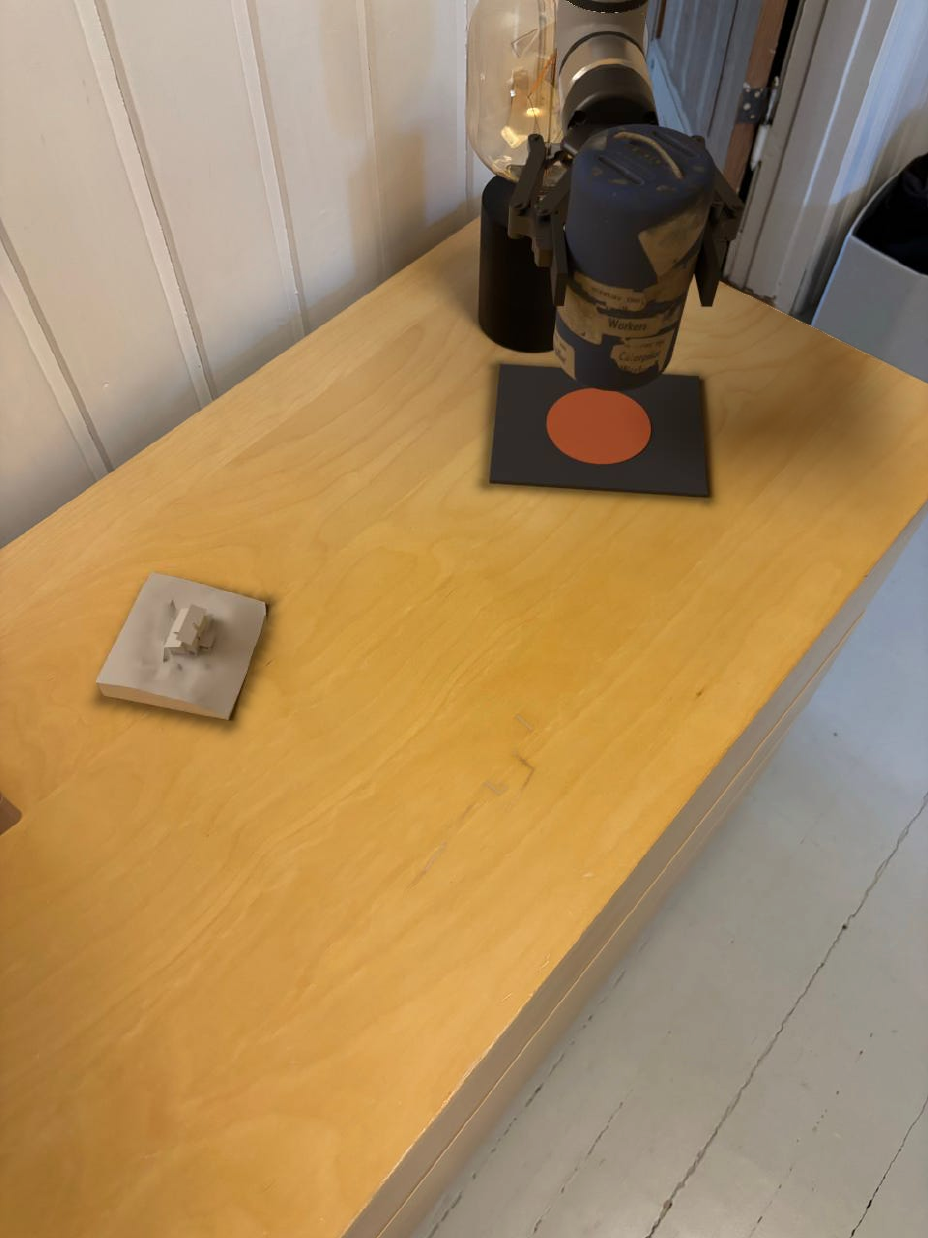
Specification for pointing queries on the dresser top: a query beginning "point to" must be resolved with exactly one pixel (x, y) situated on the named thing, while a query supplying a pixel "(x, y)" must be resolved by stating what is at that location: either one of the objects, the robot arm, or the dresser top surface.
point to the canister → (630, 252)
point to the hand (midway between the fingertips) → (636, 290)
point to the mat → (598, 434)
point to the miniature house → (184, 647)
